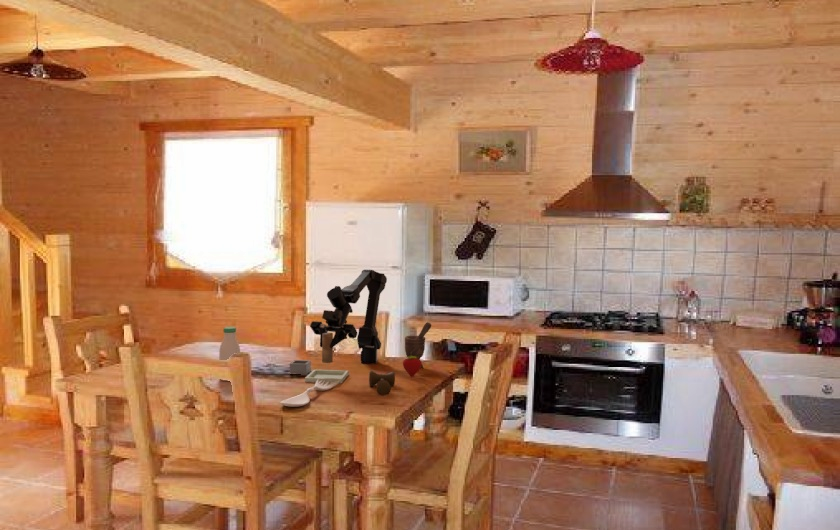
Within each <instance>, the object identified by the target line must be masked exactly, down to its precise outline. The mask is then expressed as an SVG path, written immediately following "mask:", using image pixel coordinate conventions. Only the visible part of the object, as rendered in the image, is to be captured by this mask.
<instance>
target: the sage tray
mask: <svg viewBox="0 0 840 530" xmlns="http://www.w3.org/2000/svg"><path fill="white" fill-rule="evenodd" d="M349 372H350V370H340V369H339V370H338V369H337V370H336V369H312V370H311V372H310V373H309V374H308V375H305V377H304V383H316V381H317V380H318V379H319V382H320V381H321V380H322V383H323V382H324V381H325V383H324V384H326V383H327V382H329V384H330V383H331V382H333V383H334V382H335V381H336V382H337V381H339V383H338V385H339V384H340V385H341V384H343V383H344V382H345V380H346V378H348V376H349V375H350V373H349ZM319 382H318V383H319Z"/></svg>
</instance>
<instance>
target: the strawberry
mask: <svg viewBox="0 0 840 530" xmlns="http://www.w3.org/2000/svg"><path fill="white" fill-rule="evenodd" d="M411 353H412V352H411ZM421 365H423V362H422V360H421V359H420V360H419V359H417V357H416V356H411V357H410V356H408V357H406V358H405V359H404V360H403V361H402V366H403V369H404V370H405V372H406V373H407V374H408V376H410V377H411V378H413V377H415V375H416V374H417V373H418V372H419V371H420V370H421V369H420V368H421Z"/></svg>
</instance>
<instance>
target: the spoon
mask: <svg viewBox="0 0 840 530" xmlns="http://www.w3.org/2000/svg"><path fill="white" fill-rule="evenodd" d="M318 382H319V379H318V380H317V381H316V383H315V384H314V385H313V386H311V387H309V388H306V389H305V391H304V392H302V393H301V394H298V395H295V396H292V397H289V398H285V399H283V400H280V401H279V404H281V405H282V406H285V407H289V408H299V407H303V406H306V405H308V404H309V403H310V401H311V399H310V396H309V395H308V394H309V393H310V392H315V390H316V391H319V392H320V391H321V392H325V391H328V390H330V389H332V388H334V387H335V386H337V385H339V381H337V382H336V381H335V382H334V383H333V382H331V383H329V382H327V383H325V381H324V382H323V383H322V380H321V381H320V382H319V383H318Z"/></svg>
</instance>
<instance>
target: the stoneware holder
mask: <svg viewBox="0 0 840 530" xmlns="http://www.w3.org/2000/svg"><path fill="white" fill-rule="evenodd" d="M311 372H312V360H310V359H309V360H306V359H305V360H304V359H303V360H301V359H300V360H299V359H294V360H293V361H291V362H290V363H289V374H290V373H298V374H301V375H300V376H307V375H309V374H310V373H311Z"/></svg>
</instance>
